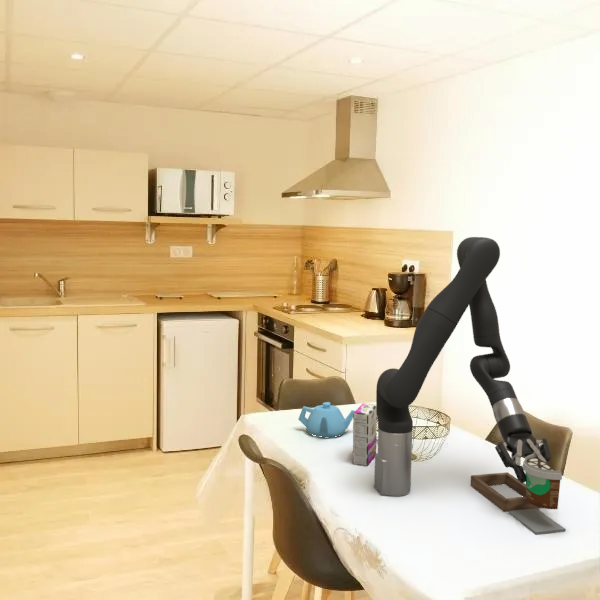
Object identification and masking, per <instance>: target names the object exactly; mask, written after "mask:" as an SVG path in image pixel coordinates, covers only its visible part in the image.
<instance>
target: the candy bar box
mask: <svg viewBox="0 0 600 600" xmlns="http://www.w3.org/2000/svg"><path fill="white" fill-rule="evenodd" d="M354 411H355V412H354V413H353V419H352V421H353V422H352V423H353V426H352V432H353V433H352V435H353V436H352V437H353V439H352V444H353V445H352V447H353V448H352V450H353V451H352V465H355V464H359V465H358V466H362V465H364V466H363V467H368V466H369V465H370V464H369V463H372V461H373V460H374V459H375V454H376V453H377V428H378V427H377V426H378V424H377V421H378V418H377V412H376V404H373V403H372V404H371V403H365V402H364V403H361V405H360V406H359V407H358V408H357V409H355V410H354Z"/></svg>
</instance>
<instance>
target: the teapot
mask: <svg viewBox="0 0 600 600" xmlns="http://www.w3.org/2000/svg"><path fill="white" fill-rule="evenodd" d="M355 411H356V410H351V411H350V412H349V413H348V415H347V416H346V417H344V415H343V413H342V412H341V409H340V408H339V407H337V406H336V405H331V402H330V401H326V402H322V404H320V405H316V406H314V408H312V407H309V406H305V405H303V407H302V408H301V412H300V414H299V416H298V421H299V422H301V424H302V425H303V426H305V428H306V430H307V432H308V433H309V434H310V433H311V434H313V435H316V436H322V437H335V436H339V435H341V436H342V435H344V433H345V432H346V430H347V429H348V428H349V426H350V424H351V422H352V421H353V413H354V412H355ZM307 413H309V416H308V417H307V418H306V414H307ZM311 434H310V435H311ZM313 435H312V436H313ZM339 437H340V436H339ZM335 438H336V437H335Z"/></svg>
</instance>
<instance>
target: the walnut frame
mask: <svg viewBox="0 0 600 600" xmlns="http://www.w3.org/2000/svg"><path fill="white" fill-rule="evenodd" d="M502 484H506V487H508V486H509V487H508V488H509V489H511V488H512V489H511V490H513V491H514V492H515V491H516V492H515V493H517V494H519V496H518V497H509V498H507V497H505V496H504V495H502V494H501V493H499V491H497V490H496V489H494V487H493V485H494V486H503V485H502ZM491 486H492V487H491ZM470 487H471V488H473V489H474V490H475V491H476V492H477V493H479V494H480V495H482V496H483V497H484V498H485V499H487V500H488V501H490V503H492V504H493V505H494V506H495V507H497V508H498V509H500V511H502V512H503V513H506V512H507V513H508V511H512V510H522V509H532V508H537V509H538V510H539V509H541V508H540V507H537V506H534V505H532V504H530V503H529V502H528V501H527V498H526V483H521V482H520V481H519V480H518V479H517V477H515V476H514V475H512V474H511V473H509V472H496V473H486V474H485V473H484V474H475V475H474V474H472V475H470ZM522 496H523V497H522Z"/></svg>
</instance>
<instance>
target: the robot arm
mask: <svg viewBox="0 0 600 600" xmlns="http://www.w3.org/2000/svg"><path fill="white" fill-rule="evenodd" d="M456 257H457V262H458V266H459V270H458V272H457V273H456V275H455V276H454V278H452V280H451V281H450V282H449V283H448V284H446V286H445V287H443V289H441V290H440V292H438V294H437V295H436V296H434V297H433V299H431V301H430V302H429V304H428V305H427V307H426V308H425V310H424V312H423V313H422V315H421V316H420V318H419V320H418V322H417V324H416V327H415V330H414V333H413V337H412V342H411V347H410V349H409V352H408V354H407V356H406V357H405V358H404V361H403V363H402V364H401V365H400V367H399V368H395V367H394V368H388V369H386V370H384V371H383V372H382V373H381V374H380V375H379V377H378V379H377V382H376V392H375V394H376V395H375V396H376V399H375V401H376V402H375V403H376V404H375V405H376V412H377V421H378V424H377V426H378V427H377V428H378V429H377V430H378V431H377V432H378V433H377V437H378V438H377V452H376V454H375V457H374V472H373V473H374V476H373V478H374V480H373V487H374V488H375V489H376V490H377V492H378V493H379V494H380V495H381V496H385V495H386V496H392V497H400V496H401V497H402V496H406V495H408V494H410V493H411V487H412V460H413V459H412V455H413V454H412V452H413V451H412V450H413V427H414V425H413V418H412V415H411V414H410V412H411V411H410V408H409V407H410V406H411V404H413V403H414V402H415V400H416V398H417V397H418V395H419V393H420V391H421V389H422V387H423V384H424V383H425V381H426V379H427V377H428V374H429V372H430V371H431V368H432V366H433V365H434V363H435V361H436V360H437V358H438V357H439V355H440V353H441V352H442V350H443V348H444V347H445V344H447V342H448V340H449V339H450V337H451V336H452V334H453V332H454V331H455V329H456V327H457V326H458V324H459V322H460V321H461V319H462V317H463V316H464V314H465V312H466V311H467V309H468V308H469V312H470V319H471V329H472V336H473V342H474V345H475V346H476V347H480V348H491V350H492V352H490V353H486V354H479V355H475V356H473V357H472V358H471V359H470V364H469V369H470V373H471V374H472V377H473V378H474V380H475V381H476V382H477V383H478V385H479V386H480V387H481V389H482V390H483V391H484V393H485V394H486V396H487V398H488V401H489V404H490V406H491V408H492V413H493V417H494V420H495V422H496V425H497V428H498V430H499V432H500V435H501V438H502V439H503V441H504V442H502V441H500V442H498V443H497V445H496V446H495V447H494V449H495V451H496V452H497V454H498V456H499V458H500V460H501V461H502V463H503V465H504V467H505V468H506V469H507V468H511V469H512V470H514V474H515V476H516V478H517V479H518V480H519V481H520V482H521V483H524V484H526V481H527V478H526V475H525V471H524V470H523V468H522V466H523V465H522V464H521V459H522V457H524V458H526V457H527V456H528V455H531V454H535V455H536V457H537V458H539V459H541V460H542V461H544V462H546V463H548V464H549V462H551V461H552V455H551V453H550V448H549V443H548V441H547V438H542V439H536V437H534V436H533V433H532V428H531V425H530V423H529V421H528V418H527V416H526V413H525V411H524V409H523V406H522V404H521V403H520V401H519V399H518V397H517V394H516V392H515V389H514V387H513V385H512V384H511V382H509V381H508V380H507V381H506V380H498V379H501V378H505V377H507V376H508V374H509V373H510V370H511V363H510V359H509V358H508V355H507V354H506V351H505V348H504V346H503V345H504V344H503V342H502V340H501V336H500V335H501V333H500V326H499V325H500V324H499V319H498V313H497V308H496V306H495V304H494V301H493V299H492V297H491V294H490V291H489V288H488V283H487V279H488V278H489V276H490V274H491V273H492V272H493V270H494V269H495V268H496V266H497V265H498V262H499V260H500V257H501V250H500V246H499V244H498V243H497V241H496V240H495V239H492V238H489V237H484V236H483V237H482V236H470V237H465V238H464V239H463V240H462V241H460V243H459V244H458V246H457V250H456ZM508 451H509V452H508ZM510 453H511V455H510Z"/></svg>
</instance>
